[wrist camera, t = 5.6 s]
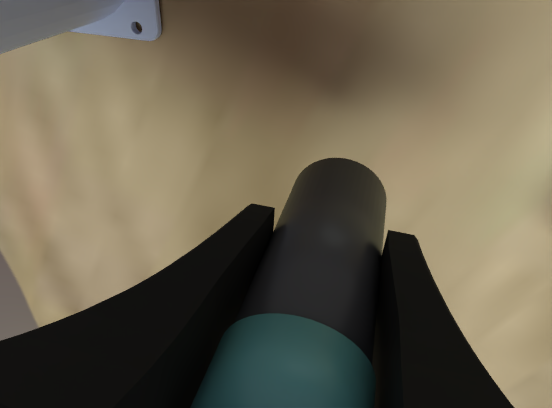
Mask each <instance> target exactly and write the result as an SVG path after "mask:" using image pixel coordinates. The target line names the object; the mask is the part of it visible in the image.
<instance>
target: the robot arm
mask: <svg viewBox="0 0 552 408" xmlns="http://www.w3.org/2000/svg"><path fill="white" fill-rule="evenodd" d="M136 22H139V24H140V25H141V27H142V32H140V31H138V29H137V28H136ZM67 31H70V32H78V33H87V34H95V35H103V36H111V37H120V38H128V39H136V40H145V41H153V40H155V39H157V38H158V37H160V35H161V31H162V27H161V18H160V8H159V0H0V54H2V53H5V52H8V51H11V50H14V49H17V48H19V47H22V46H25V45H28V44H31V43H34V42H37V41H40V40H43V39H46V38H49V37H52V36H55V35H58V34H61V33H64V32H67ZM274 210H275V208H272V207H267V206H262V205H257V204H250V205H249V206H247V207H246V208H245V209H244V210H242V211H241V212H240V213H239V214H238V215H236V216H235V217H234V218H233V219H231V220H230V221H229V222H228V223H227V224H225V225H224V226H223V227H222V228H220V229H219V230H218V231H217V232H215V233H214V234H213V235H211V236H210V237H209V238H207V239H206V240H205V241H203V242H202V243H201V244H199V245H198V246H197V247H195V248H194V249H193V250H191V251H190V252H188V253H187V254H185V255H184V256H182V257H181V258H179V259H178V260H176V261H175V262H173V263H172V264H170V265H169V266H167V267H166V268H164V269H163V270H161V271H159V272H158V273H156V274H154V275H153V276H151V277H149V278H148V279H146V280H144V281H142V282H141V283H139V284H137V285H135V286H133V287H131V288H130V289H128V290H126V291H124V292H122V293H119V294H117V295H115V296H113V297H111V298H109V299H107V300H105V301H102V302H100V303H98V304H96V305H94V306H92V307H90V308H88V309H85V310H83V311H81V312H78V313H76V314H73V315H71V316H69V317H66V318H64V319H61V320H59V321H56V322H53V323H51V324H48V325H45V326H43V327H40V328H37V329H35V330H32V331H29V332H26V333H23V334H21V335H17V336H14V337H11V338H8V339H5V340H1V341H0V408H190V407H191V405H192V403H193V400H194V398H195V396H196V394H197V391H198V389H199V387H200V385H201V383H202V380H203V378H204V376H205V374H206V371H207V369H208V367H209V365H210V362H211V360H212V358H213V356H214V354H215V351H216V349H217V347H218V345H219V342H220V340H221V338H222V336H223V334H224V332H225V331H226V330H227V329H228V328H229V327H230V326H231V325H232V324H234V321H235V319H236V317H237V315H238V312H239V310H240V308H241V305H242V303H243V301H244V298H245V296H246V294H247V292H248V289H249V287H250V285H251V282H252V280H253V278H254V275H255V273H256V271H257V269H258V266H259V264H260V262H261V259H262V257H263V255H264V253H265V250H266V248H267V246H268V243H269V241H270V239H271V236H272V234H273V226H274ZM372 367H373V369H374V372H375V376H376V392H375V406H374V408H514V407H513V406H512V404H511V403H510V402H509V400H508V399H507V398H506V396H505V395H504V394H503V392H502V391H501V390H500V388H499V387H498V386H497V384H496V383H495V382H494V380H493V379H492V378H491V376H490V375H489V373H488V372H487V370H486V369H485V367H484V366H483V365H482V363H481V362H480V360H479V359H478V357H477V356H476V354H475V353H474V351H473V350H472V348H471V346H470V345H469V343H468V342H467V340H466V338H465V337H464V335H463V333H462V332H461V330H460V328H459V327H458V325H457V323H456V321H455V320H454V318H453V316H452V314H451V312H450V311H449V309H448V307H447V305H446V303H445V301H444V299H443V297H442V295H441V293H440V291H439V289H438V287H437V285H436V283H435V281H434V279H433V277H432V275H431V272H430V270H429V268H428V266H427V263H426V261H425V258H424V256H423V253H422V251H421V248H420V245H419V243H418V240H417V238H416V237H415V236H414V235H411V234H406V233H400V232H395V231H390V230H388V233H387V237H386V241H385V245H384V249H383V253H382V257H381V268H380V280H379V292H378V303H377V314H376V326H375V337H374V348H373V360H372Z"/></svg>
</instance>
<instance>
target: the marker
mask: <svg viewBox="0 0 552 408" xmlns="http://www.w3.org/2000/svg"><path fill="white" fill-rule="evenodd" d="M385 212H386V193H385V190H384V187H383V185H382V183H381V181H380V180H379V178H378V177H377V176H376V175H375V174H374V173H373V172H372V171H371V170H370V169H369V168H367V167H366V166H364V165H362V164H360V163H358V162H356V161H353V160H349V159H345V158H327V159H323V160H319V161H317V162H314V163H312V164H311V165H309V166H308V167H306V168H305V169H304V170H303V171H302V172H301V173H300V175H299V176H298V178H297V179H296V181H295V184H294V186H293V188H292V191H291V193H290V195H289V197H288V200H287V202H286V204H285V207H284V209H283V211H282V214H281V216H280V218H279V220H278V223H277V225H276V227H275V230H274V232H273V234H272V236H271V239H270V241H269V243H268V246H267V248H266V250H265V253H264V255H263V257H262V259H261V262H260V264H259V266H258V269H257V271H256V273H255V275H254V278H253V280H252V282H251V285H250V287H249V289H248V292H247V294H246V296H245V298H244V301H243V303H242V305H241V308H240V310H239V312H238V315H237V317H236V319H235V321H234V324H232V325H231V326H230V327H229V328H228V329H227V330H226V331H225V332H224V334H223V336H222V338H221V340H220V342H219V345H218V347H217V349H216V351H215V354H214V356H213V358H212V360H211V362H210V365H209V367H208V369H207V371H206V374H205V376H204V378H203V380H202V383H201V385H200V387H199V389H198V391H197V394H196V396H195V398H194V400H193V403H192V405H191V407H190V408H374V406H375V392H376V376H375V372H374V369H373V367H372V360H373V348H374V337H375V326H376V314H377V303H378V292H379V280H380V268H381V257H382V246H383V235H384V223H385Z"/></svg>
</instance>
